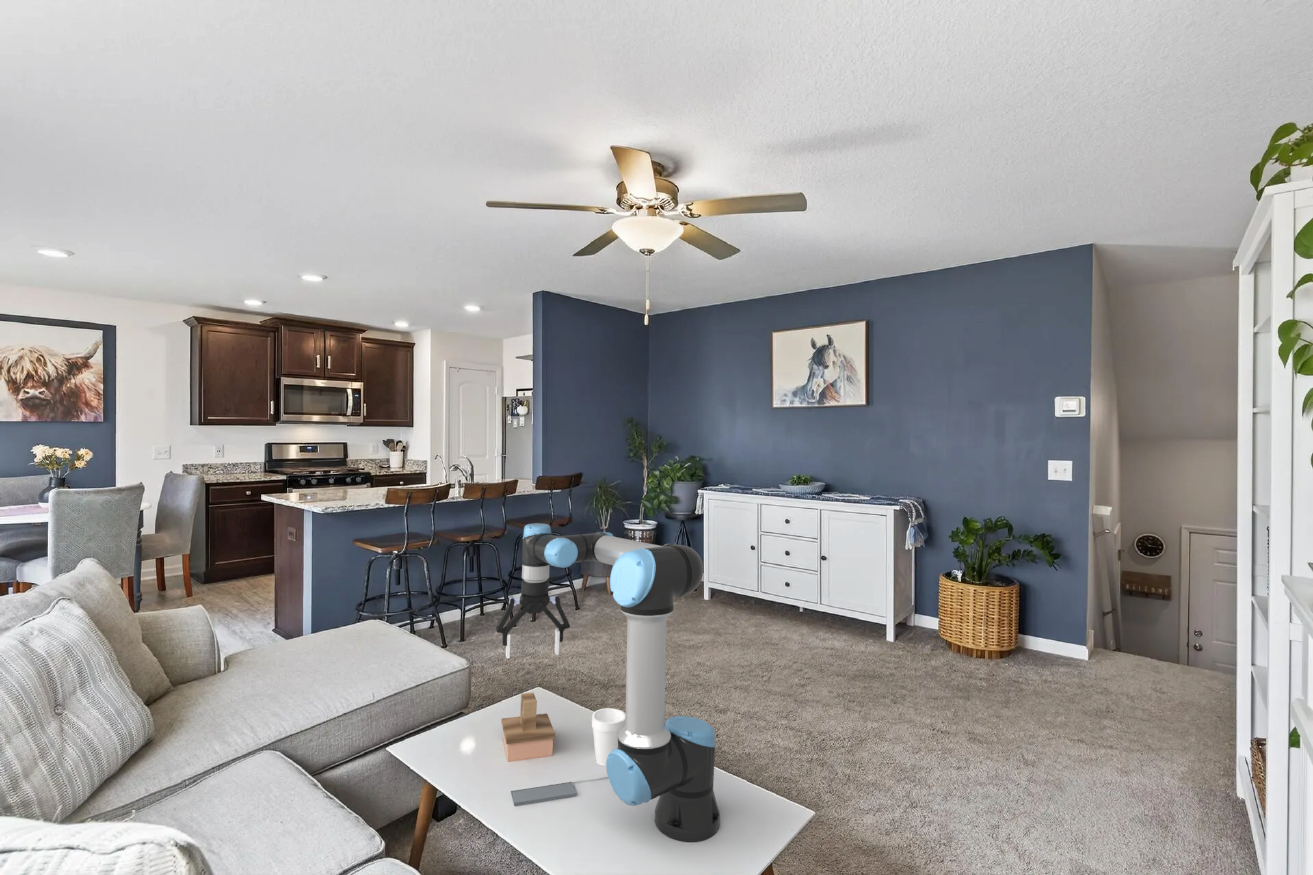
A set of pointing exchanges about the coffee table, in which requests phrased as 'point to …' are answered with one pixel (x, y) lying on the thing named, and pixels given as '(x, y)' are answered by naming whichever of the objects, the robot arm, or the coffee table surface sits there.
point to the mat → (543, 793)
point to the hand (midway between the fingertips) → (532, 655)
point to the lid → (527, 723)
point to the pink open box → (528, 749)
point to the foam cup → (606, 732)
